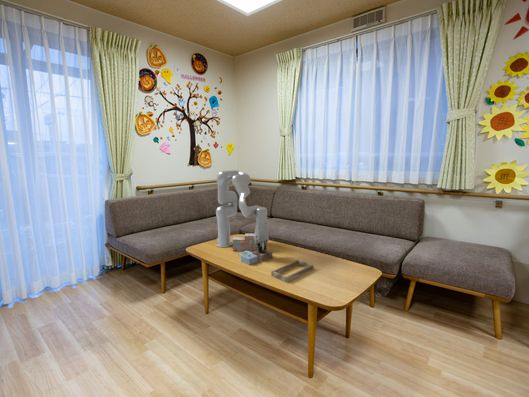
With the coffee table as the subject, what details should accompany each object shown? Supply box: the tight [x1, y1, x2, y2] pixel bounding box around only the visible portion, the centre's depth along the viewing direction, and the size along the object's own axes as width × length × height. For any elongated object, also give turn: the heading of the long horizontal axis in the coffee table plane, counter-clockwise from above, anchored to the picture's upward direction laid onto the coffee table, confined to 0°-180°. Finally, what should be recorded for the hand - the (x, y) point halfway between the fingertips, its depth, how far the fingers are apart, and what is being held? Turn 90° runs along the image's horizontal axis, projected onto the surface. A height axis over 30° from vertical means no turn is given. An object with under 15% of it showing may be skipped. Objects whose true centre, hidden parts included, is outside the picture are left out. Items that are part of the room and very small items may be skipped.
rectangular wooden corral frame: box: [270, 259, 314, 283], centre depth 170 cm, size 12×25×3 cm, turn 135°
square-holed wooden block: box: [251, 249, 273, 262], centre depth 194 cm, size 10×10×4 cm
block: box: [240, 253, 259, 266], centre depth 187 cm, size 8×8×4 cm
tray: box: [237, 251, 253, 258], centre depth 197 cm, size 8×8×2 cm
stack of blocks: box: [232, 232, 260, 252], centre depth 208 cm, size 21×6×12 cm, turn 87°
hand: (262, 250), depth 193 cm, fingers closed on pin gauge, 3 cm apart
